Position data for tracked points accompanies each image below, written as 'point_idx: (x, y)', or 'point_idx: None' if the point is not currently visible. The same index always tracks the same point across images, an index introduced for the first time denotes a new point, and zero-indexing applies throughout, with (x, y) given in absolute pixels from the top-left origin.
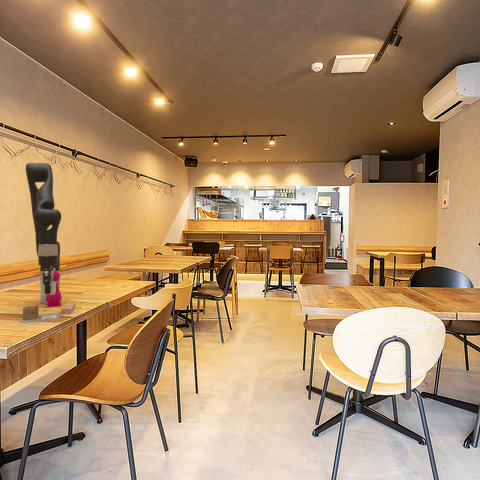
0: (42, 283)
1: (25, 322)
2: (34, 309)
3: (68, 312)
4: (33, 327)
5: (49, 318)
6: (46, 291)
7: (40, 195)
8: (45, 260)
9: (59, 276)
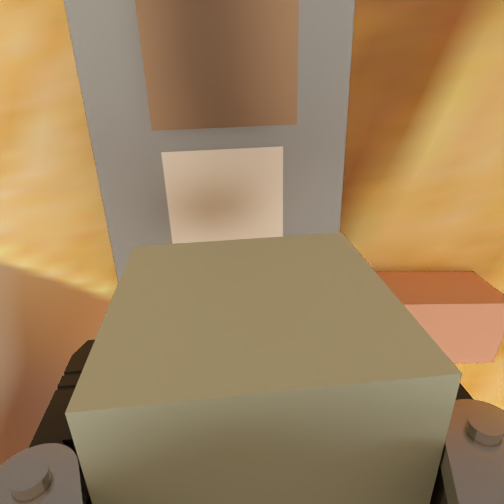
0: (105, 438)
1: (78, 28)
2: (150, 107)
3: None
4: (5, 120)
5: (176, 218)
6: (73, 374)
7: None
8: None
9: None
